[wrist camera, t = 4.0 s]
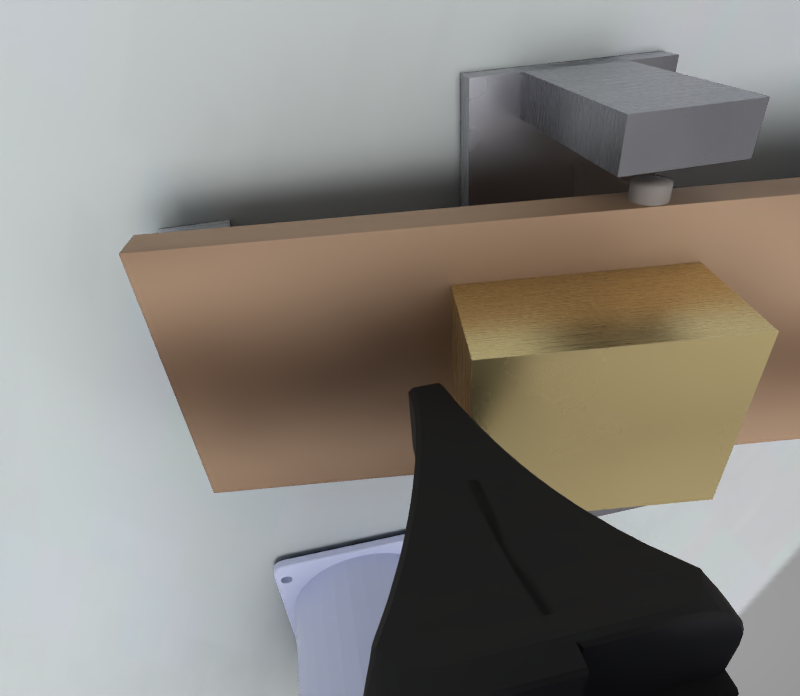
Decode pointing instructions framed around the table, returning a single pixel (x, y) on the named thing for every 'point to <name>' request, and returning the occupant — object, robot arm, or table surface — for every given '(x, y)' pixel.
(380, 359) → the beam
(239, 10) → the table surface
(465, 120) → the stand
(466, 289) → the block
